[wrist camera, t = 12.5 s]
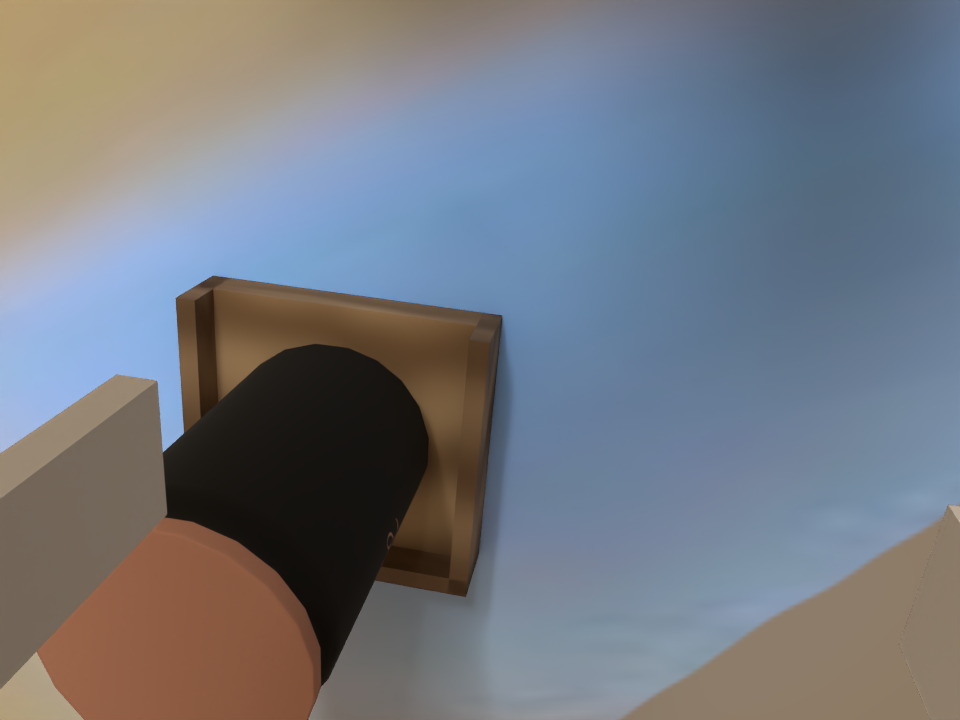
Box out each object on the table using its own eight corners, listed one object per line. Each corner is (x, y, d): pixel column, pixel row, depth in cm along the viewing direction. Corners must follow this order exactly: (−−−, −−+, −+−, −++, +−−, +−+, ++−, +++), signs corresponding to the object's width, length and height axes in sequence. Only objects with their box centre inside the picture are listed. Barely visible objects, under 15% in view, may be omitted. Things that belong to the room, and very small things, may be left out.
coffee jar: (300, 532, 48) (127, 794, 32) (211, 371, 45) (-30, 570, 29) (466, 483, 45) (368, 747, 29) (382, 307, 42) (219, 490, 26)
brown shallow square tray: (212, 275, 46) (175, 297, 42) (502, 315, 43) (489, 342, 40) (223, 509, 51) (191, 546, 48) (478, 554, 49) (465, 596, 46)
